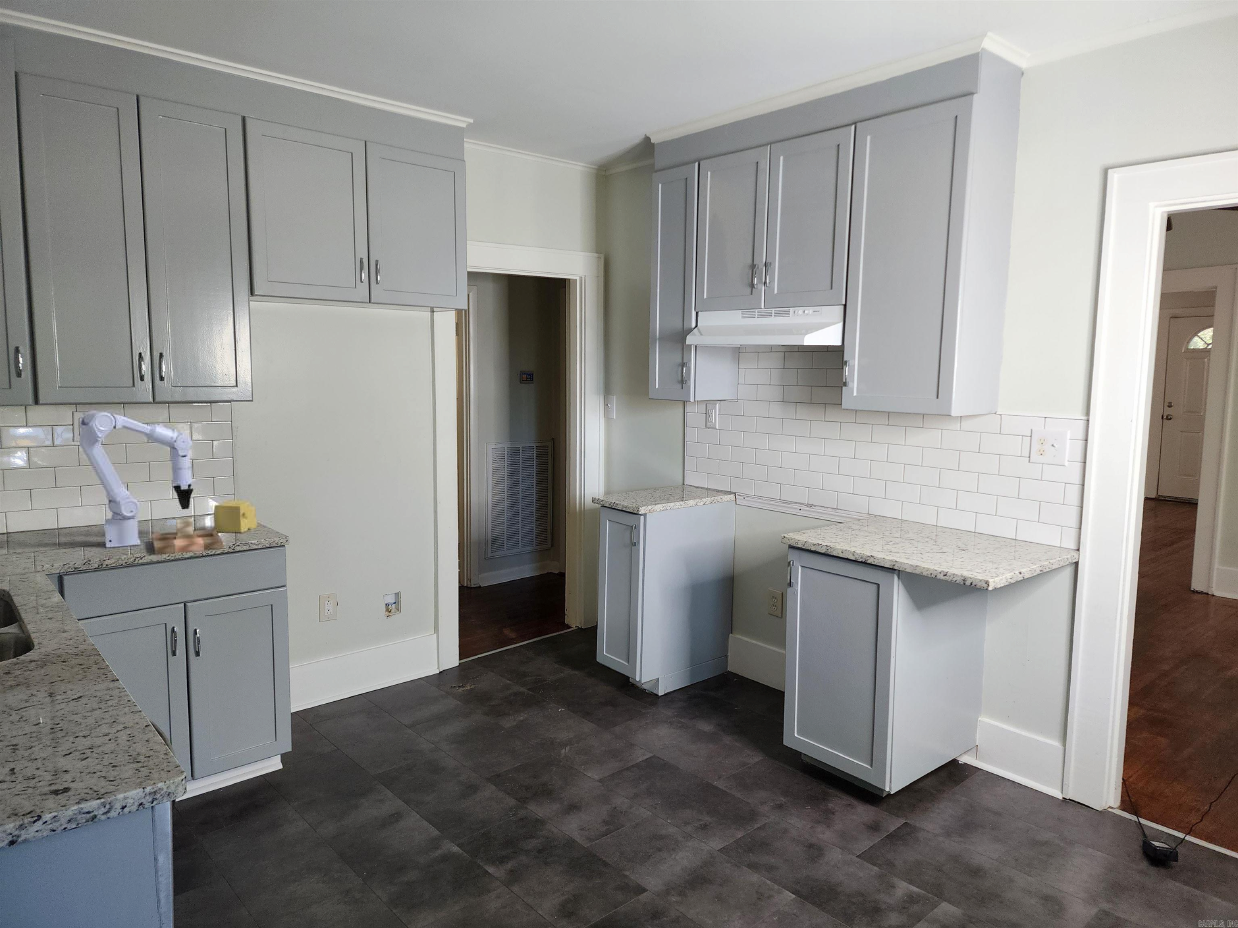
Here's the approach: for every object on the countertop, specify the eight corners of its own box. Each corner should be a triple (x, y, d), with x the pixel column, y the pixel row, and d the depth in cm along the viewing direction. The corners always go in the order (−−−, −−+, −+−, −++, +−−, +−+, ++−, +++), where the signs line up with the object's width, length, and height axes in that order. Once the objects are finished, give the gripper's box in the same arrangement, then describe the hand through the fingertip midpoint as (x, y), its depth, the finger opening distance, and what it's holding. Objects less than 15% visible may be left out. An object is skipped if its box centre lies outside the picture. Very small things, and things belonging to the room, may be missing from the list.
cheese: (257, 527, 298) (256, 500, 297) (241, 533, 288) (240, 505, 286) (230, 526, 299) (229, 499, 298) (213, 532, 289) (212, 504, 287)
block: (177, 535, 270) (177, 522, 270) (176, 533, 274) (176, 519, 273) (193, 534, 272) (192, 521, 272) (191, 531, 276) (191, 518, 276)
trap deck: (155, 554, 253) (155, 546, 253) (152, 541, 272) (151, 534, 272) (223, 548, 263) (222, 541, 263) (215, 536, 282) (215, 529, 282)
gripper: (196, 469, 274) (199, 509, 276) (192, 464, 287) (195, 502, 288) (172, 471, 271) (175, 511, 273) (169, 466, 283) (173, 504, 285)
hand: (184, 507), depth 280 cm, fingers open, 7 cm apart
